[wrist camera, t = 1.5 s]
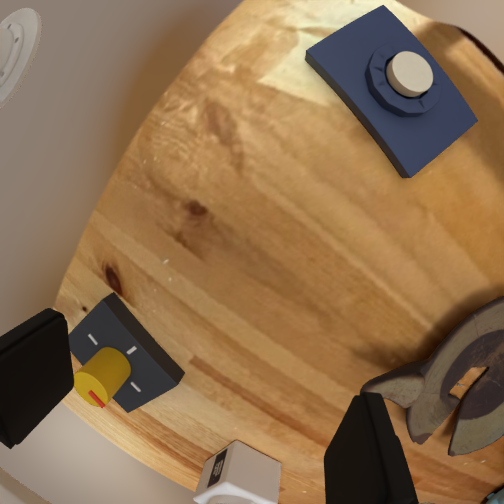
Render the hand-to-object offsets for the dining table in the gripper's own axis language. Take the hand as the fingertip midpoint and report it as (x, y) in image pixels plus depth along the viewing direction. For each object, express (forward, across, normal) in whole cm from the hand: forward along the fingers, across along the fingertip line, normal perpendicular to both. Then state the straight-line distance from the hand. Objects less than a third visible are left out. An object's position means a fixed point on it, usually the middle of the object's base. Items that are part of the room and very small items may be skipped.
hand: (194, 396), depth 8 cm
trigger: (+17, -9, -18) cm, 26 cm away
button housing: (+21, -9, -18) cm, 29 cm away
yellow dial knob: (+18, +13, +16) cm, 27 cm away
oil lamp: (+21, -27, +8) cm, 35 cm away
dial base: (+21, +13, +16) cm, 29 cm away
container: (+21, -4, +30) cm, 37 cm away
